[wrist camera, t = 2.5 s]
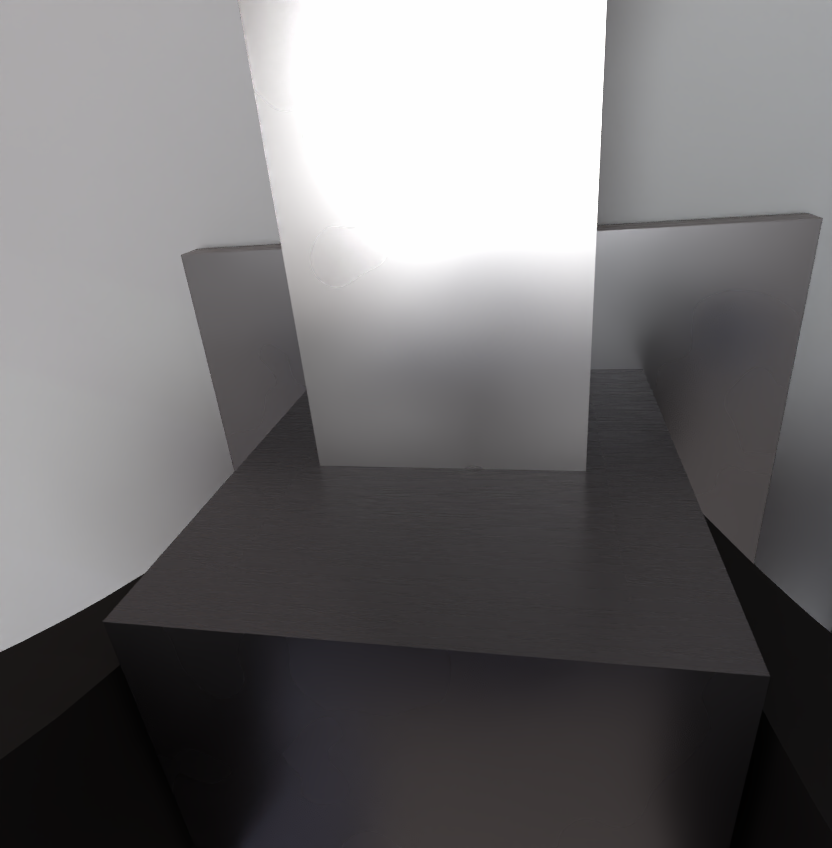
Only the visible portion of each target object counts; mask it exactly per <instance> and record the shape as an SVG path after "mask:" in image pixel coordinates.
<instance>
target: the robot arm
mask: <svg viewBox="0 0 832 848" xmlns="http://www.w3.org/2000/svg"><path fill="white" fill-rule="evenodd" d="M703 515H704V514H703ZM704 518H705V520H706V522H707V525H708V527H709V530H710V532H711V535H712V537H713V539H714V542H715V544H716V547H717V549H718V551H719V554H720V556H721V559H722V561H723V564H724V566H725V568H726V571H727V573H728V576H729V578H730V580H731V583H732V585H733V588H734V590H735V593H736V595H737V597H738V600H739V602H740V605H741V607H742V609H743V612H744V614H745V617H746V619H747V622H748V624H749V626H750V629H751V631H752V634H753V636H754V638H755V641H756V643H757V646H758V648H759V651H760V653H761V655H762V658H763V660H764V663H765V665H766V667H767V670H768V672H769V675H770V680H769V684H768V688H767V692H766V696H765V701H764V705H763V709H762V713H761V717H760V722H759V726H758V730H757V734H756V738H755V742H754V747H753V751H752V755H751V759H750V763H749V768H748V772H747V776H746V780H745V784H744V789H743V793H742V797H741V801H740V805H739V810H738V814H737V818H736V822H735V826H734V830H733V835H732V839H731V843H730V847H729V848H832V633H830V632H829V631H828V630H827V629H826V628H824V627H823V626H822V625H821V624H820V623H818V622H817V621H816V620H815V619H814V618H813V617H811V616H810V615H809V614H808V613H807V612H806V611H805V610H803V609H802V608H801V607H800V606H799V605H798V604H797V603H795V602H794V601H793V600H792V599H791V598H790V597H789V596H788V595H787V594H785V593H784V592H783V591H782V590H781V589H780V588H779V587H778V586H777V585H776V584H775V583H774V582H772V581H771V580H770V579H769V578H768V577H767V576H766V575H765V574H764V573H763V572H762V571H761V570H760V569H759V568H757V567H756V566H755V565H754V564H753V563H752V562H751V561H750V560H749V559H748V558H747V557H746V556H745V555H744V554H743V553H742V552H741V551H740V550H739V549H738V548H737V547H736V546H735V545H734V544H733V543H732V542H731V541H730V540H729V539H728V538H727V537H726V536H725V535H724V534H723V533H722V532H721V531H720V530H719V529H718V528H717V527H716V526H715V525H714V524H713V523H712V522H711V521H710V520H709V519H708V518H707V517H706V516H705V515H704ZM143 575H144V574H143ZM143 575H141V576H140V577H138V578H136V579H135V580H133V581H131V582H130V583H128V584H127V585H125V586H123V587H122V588H120V589H118V590H117V591H115V592H113V593H112V594H110V595H108V596H107V597H105V598H103V599H102V600H100V601H98V602H96V603H95V604H93V605H91V606H89V607H88V608H86V609H84V610H82V611H80V612H78V613H76V614H75V615H73V616H71V617H69V618H67V619H65V620H64V621H62V622H60V623H58V624H56V625H54V626H52V627H50V628H48V629H46V630H44V631H42V632H40V633H38V634H36V635H34V636H32V637H30V638H28V639H26V640H25V641H23V642H21V643H18V644H16V645H14V646H12V647H10V648H8V649H6V650H4V651H2V652H0V848H195V846H194V844H193V841H192V839H191V836H190V834H189V832H188V829H187V827H186V824H185V822H184V819H183V817H182V814H181V812H180V810H179V807H178V805H177V802H176V800H175V797H174V795H173V793H172V790H171V788H170V785H169V783H168V780H167V778H166V775H165V773H164V771H163V768H162V766H161V763H160V761H159V758H158V756H157V753H156V751H155V749H154V746H153V744H152V741H151V739H150V736H149V734H148V732H147V729H146V727H145V724H144V722H143V719H142V717H141V714H140V712H139V710H138V707H137V705H136V702H135V700H134V697H133V695H132V692H131V690H130V688H129V685H128V683H127V680H126V678H125V675H124V673H123V671H122V668H121V666H120V663H119V661H118V658H117V656H116V653H115V651H114V649H113V646H112V644H111V641H110V639H109V636H108V634H107V632H106V629H105V627H104V624H103V621H104V620H105V618H106V617H107V616H108V615H109V614H110V613H111V612H112V610H113V609H114V608H115V607H116V606H117V605H118V604H119V602H120V601H121V600H122V599H123V598H124V597H125V596H126V595H127V593H128V592H129V591H130V590H131V589H132V588H133V587H134V585H135V584H136V583H137V582H138V581H139V580H140V579H141V577H142V576H143Z"/></svg>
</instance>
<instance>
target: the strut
mask: <svg viewBox="0 0 832 848" xmlns="http://www.w3.org/2000/svg"><path fill="white" fill-rule="evenodd" d="M238 4H239V9H240V15H241V21H242V26H243V32H244V38H245V43H246V49H247V55H248V60H249V66H250V72H251V77H252V83H253V89H254V94H255V100H256V106H257V111H258V117H259V123H260V128H261V134H262V140H263V145H264V151H265V157H266V162H267V168H268V174H269V179H270V185H271V191H272V196H273V202H274V208H275V213H276V219H277V225H278V230H279V236H280V242H281V247H282V253H283V259H284V264H285V270H286V276H287V281H288V287H289V293H290V298H291V304H292V310H293V315H294V321H295V327H296V332H297V338H298V344H299V349H300V355H301V361H302V366H303V372H304V378H305V383H306V389H307V390H306V391H305V392H304V393H303V394H302V396H301V397H300V398H299V399H298V400H297V401H296V402H295V404H294V405H293V406H292V407H291V408H290V409H289V410H288V411H287V413H286V414H285V415H284V416H283V417H282V418H281V419H280V421H279V422H278V423H277V424H276V425H275V426H274V427H273V429H272V430H271V431H270V432H269V433H268V434H267V435H266V436H265V438H264V439H263V440H262V441H261V442H260V443H259V444H258V446H257V447H256V448H255V449H254V450H253V451H252V452H251V454H250V455H249V456H248V457H247V458H246V459H245V460H244V461H243V463H242V464H241V465H240V466H239V467H238V468H237V469H236V471H235V472H234V473H233V474H232V475H231V476H230V477H229V479H228V480H227V481H226V482H225V483H224V484H223V485H222V486H221V488H220V489H219V490H218V491H217V492H216V493H215V494H214V496H213V497H212V498H211V499H210V500H209V501H208V502H207V504H206V505H205V506H204V507H203V508H202V509H201V510H200V512H199V513H198V514H197V515H196V516H195V517H194V518H193V519H192V521H191V522H190V523H189V524H188V525H187V526H186V527H185V529H184V530H183V531H182V532H181V533H180V534H179V535H178V537H177V538H176V539H175V540H174V541H173V542H172V543H171V544H170V546H169V547H168V548H167V549H166V550H165V551H164V552H163V554H162V555H161V556H160V557H159V558H158V559H157V560H156V562H155V563H154V564H153V565H152V566H151V567H150V568H149V569H148V571H147V572H146V573H145V574H144V575H143V576H142V577H141V579H140V580H139V581H138V582H137V583H136V584H135V585H134V587H133V588H132V589H131V590H130V591H129V592H128V593H127V595H126V596H125V597H124V598H123V599H122V600H121V601H120V602H119V604H118V605H117V606H116V607H115V608H114V609H113V610H112V612H111V613H110V614H109V615H108V616H107V617H106V618H105V620H104V621H103V624H104V627H105V629H106V632H107V634H108V636H109V639H110V641H111V644H112V646H113V649H114V651H115V653H116V656H117V658H118V661H119V663H120V666H121V668H122V671H123V673H124V675H125V678H126V680H127V683H128V685H129V688H130V690H131V692H132V695H133V697H134V700H135V702H136V705H137V707H138V710H139V712H140V714H141V717H142V719H143V722H144V724H145V727H146V729H147V732H148V734H149V736H150V739H151V741H152V744H153V746H154V749H155V751H156V753H157V756H158V758H159V761H160V763H161V766H162V768H163V771H164V773H165V775H166V778H167V780H168V783H169V785H170V788H171V790H172V793H173V795H174V797H175V800H176V802H177V805H178V807H179V810H180V812H181V814H182V817H183V819H184V822H185V824H186V827H187V829H188V832H189V834H190V836H191V839H192V841H193V844H194V846H195V848H729V847H730V843H731V839H732V835H733V830H734V826H735V822H736V818H737V814H738V810H739V805H740V801H741V797H742V793H743V789H744V784H745V780H746V776H747V772H748V768H749V763H750V759H751V755H752V751H753V747H754V742H755V738H756V734H757V730H758V726H759V722H760V717H761V713H762V709H763V705H764V701H765V696H766V692H767V688H768V684H769V680H770V675H769V672H768V670H767V667H766V665H765V663H764V660H763V658H762V655H761V653H760V651H759V648H758V646H757V643H756V641H755V638H754V636H753V634H752V631H751V629H750V626H749V624H748V622H747V619H746V617H745V614H744V612H743V609H742V607H741V605H740V602H739V600H738V597H737V595H736V593H735V590H734V588H733V585H732V583H731V580H730V578H729V576H728V573H727V571H726V568H725V566H724V564H723V561H722V559H721V556H720V554H719V551H718V549H717V547H716V544H715V542H714V539H713V537H712V535H711V532H710V530H709V527H708V525H707V522H706V520H705V518H704V515H703V513H702V510H701V508H700V506H699V503H698V501H697V498H696V496H695V493H694V491H693V489H692V486H691V484H690V481H689V479H688V477H687V474H686V472H685V469H684V467H683V464H682V462H681V460H680V457H679V455H678V452H677V450H676V448H675V445H674V443H673V440H672V438H671V435H670V433H669V431H668V428H667V426H666V423H665V421H664V419H663V416H662V414H661V411H660V409H659V406H658V404H657V402H656V399H655V397H654V394H653V392H652V390H651V387H650V385H649V382H648V380H647V377H646V375H645V373H644V370H643V369H590V368H591V345H592V323H593V300H594V278H595V255H596V233H597V210H598V187H599V165H600V142H601V120H602V97H603V75H604V52H605V29H606V7H607V0H238Z"/></svg>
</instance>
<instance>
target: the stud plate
mask: <svg viewBox="0 0 832 848" xmlns="http://www.w3.org/2000/svg"><path fill="white" fill-rule="evenodd" d="M822 219H823V218H820V217H817V216H814V215H811V214H808V213H800V214H783V215H766V216H749V217H732V218H715V219H698V220H681V221H664V222H647V223H630V224H613V225H597V233H596V255H595V278H594V300H593V323H592V345H591V368H590V369H643V370H644V373H645V375H646V377H647V380H648V382H649V385H650V387H651V390H652V392H653V394H654V397H655V399H656V402H657V404H658V406H659V409H660V411H661V414H662V416H663V419H664V421H665V423H666V426H667V428H668V431H669V433H670V435H671V438H672V440H673V443H674V445H675V448H676V450H677V452H678V455H679V457H680V460H681V462H682V464H683V467H684V469H685V472H686V474H687V477H688V479H689V481H690V484H691V486H692V489H693V491H694V493H695V496H696V498H697V501H698V503H699V506H700V508H701V510H702V513H703V514H704V515H705V516H706V517H707V518H708V519H709V520H710V521H711V522H712V523H713V524H714V525H715V526H716V527H717V528H718V529H719V530H720V531H721V532H722V533H723V534H724V535H725V536H726V537H727V538H728V539H729V540H730V541H731V542H732V543H733V544H734V545H735V546H736V547H737V548H738V549H739V550H740V551H741V552H742V553H743V554H744V555H745V556H746V557H747V558H748V559H749V560H750V561H751V562H752V563H753V564H754V560H755V555H756V550H757V545H758V540H759V535H760V530H761V525H762V520H763V515H764V510H765V505H766V500H767V495H768V490H769V485H770V480H771V475H772V470H773V465H774V460H775V455H776V450H777V445H778V440H779V435H780V430H781V425H782V420H783V415H784V410H785V404H786V399H787V394H788V389H789V384H790V379H791V374H792V369H793V364H794V359H795V354H796V349H797V344H798V339H799V334H800V329H801V324H802V319H803V314H804V309H805V304H806V299H807V294H808V289H809V284H810V279H811V274H812V269H813V264H814V259H815V254H816V249H817V244H818V239H819V234H820V229H821V224H822ZM181 257H182V261H183V265H184V269H185V273H186V277H187V282H188V286H189V290H190V294H191V298H192V302H193V306H194V310H195V314H196V318H197V322H198V326H199V330H200V334H201V338H202V342H203V346H204V350H205V354H206V358H207V362H208V366H209V370H210V374H211V378H212V382H213V386H214V390H215V394H216V398H217V402H218V406H219V410H220V414H221V418H222V422H223V426H224V430H225V434H226V438H227V442H228V447H229V451H230V455H231V459H232V463H233V467H234V471H236V469H237V468H238V467H239V466H240V465H241V464H242V463H243V461H244V460H245V459H246V458H247V457H248V456H249V455H250V454H251V452H252V451H253V450H254V449H255V448H256V447H257V446H258V444H259V443H260V442H261V441H262V440H263V439H264V438H265V436H266V435H267V434H268V433H269V432H270V431H271V430H272V429H273V427H274V426H275V425H276V424H277V423H278V422H279V421H280V419H281V418H282V417H283V416H284V415H285V414H286V413H287V411H288V410H289V409H290V408H291V407H292V406H293V405H294V404H295V402H296V401H297V400H298V399H299V398H300V397H301V396H302V394H303V393H304V392H305V391H306V390H307V389H306V383H305V378H304V372H303V366H302V361H301V355H300V349H299V344H298V338H297V332H296V327H295V321H294V315H293V310H292V304H291V298H290V293H289V287H288V281H287V276H286V270H285V264H284V259H283V253H282V247H281V244H274V245H257V246H240V247H223V248H206V249H196V250H193V251H190V252H188V253H185V254H182V255H181Z"/></svg>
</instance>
